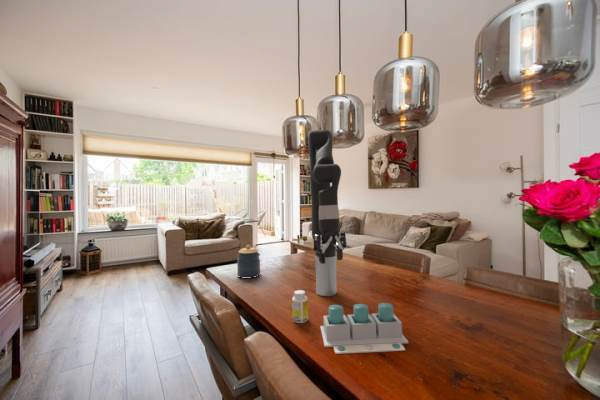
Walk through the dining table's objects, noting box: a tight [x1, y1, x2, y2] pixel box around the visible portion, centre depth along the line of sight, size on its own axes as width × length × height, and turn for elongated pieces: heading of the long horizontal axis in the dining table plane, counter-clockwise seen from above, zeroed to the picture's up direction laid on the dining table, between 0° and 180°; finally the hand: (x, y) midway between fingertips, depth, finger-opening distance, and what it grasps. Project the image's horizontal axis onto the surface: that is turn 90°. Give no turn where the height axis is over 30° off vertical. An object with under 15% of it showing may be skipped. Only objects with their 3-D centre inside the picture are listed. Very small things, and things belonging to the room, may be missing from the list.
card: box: [332, 343, 406, 355], centre depth 78 cm, size 3×20×1 cm, turn 92°
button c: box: [377, 302, 395, 322], centre depth 86 cm, size 5×5×6 cm
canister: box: [236, 244, 261, 277], centre depth 154 cm, size 13×13×18 cm
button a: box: [328, 304, 344, 325], centre depth 86 cm, size 5×5×6 cm
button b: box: [353, 303, 369, 323], centre depth 86 cm, size 5×5×6 cm
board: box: [319, 312, 409, 348], centre depth 86 cm, size 12×25×5 cm, turn 92°
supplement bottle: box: [291, 289, 309, 324], centre depth 97 cm, size 6×6×10 cm
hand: (331, 261), depth 100 cm, fingers open, 8 cm apart
